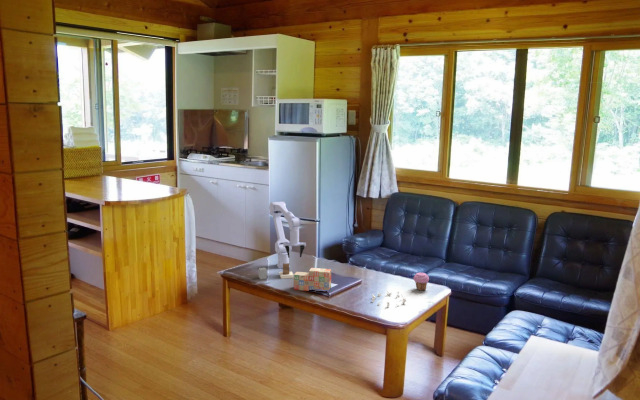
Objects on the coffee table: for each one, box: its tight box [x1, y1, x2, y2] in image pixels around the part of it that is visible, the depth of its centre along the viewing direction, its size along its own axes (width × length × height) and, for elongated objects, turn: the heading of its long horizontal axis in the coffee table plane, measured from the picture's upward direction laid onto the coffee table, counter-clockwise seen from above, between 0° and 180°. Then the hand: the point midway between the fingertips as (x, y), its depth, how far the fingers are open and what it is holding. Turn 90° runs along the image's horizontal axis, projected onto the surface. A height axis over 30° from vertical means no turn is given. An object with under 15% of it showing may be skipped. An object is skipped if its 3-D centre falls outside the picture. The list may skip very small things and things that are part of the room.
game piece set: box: [371, 290, 407, 308], centre depth 291 cm, size 19×20×4 cm
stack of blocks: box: [293, 267, 332, 292], centre depth 309 cm, size 21×6×12 cm, turn 78°
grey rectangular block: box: [258, 267, 268, 280], centre depth 331 cm, size 4×4×6 cm
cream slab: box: [279, 270, 294, 280], centre depth 334 cm, size 8×8×2 cm
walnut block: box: [282, 262, 290, 274], centre depth 333 cm, size 4×4×6 cm
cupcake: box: [413, 272, 430, 291], centre depth 310 cm, size 9×9×10 cm
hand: (294, 257), depth 340 cm, fingers open, 7 cm apart
